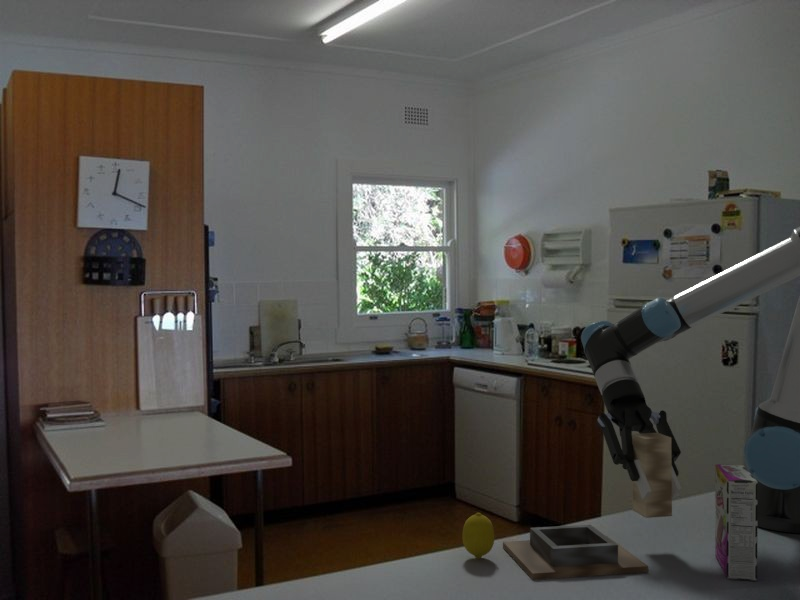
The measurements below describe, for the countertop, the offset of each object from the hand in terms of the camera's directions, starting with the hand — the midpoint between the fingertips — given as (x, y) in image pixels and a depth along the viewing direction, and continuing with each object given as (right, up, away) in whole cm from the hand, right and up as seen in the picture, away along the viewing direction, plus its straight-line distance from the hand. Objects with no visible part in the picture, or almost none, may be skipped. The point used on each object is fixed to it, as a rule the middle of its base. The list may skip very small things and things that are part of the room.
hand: (662, 494), depth 143 cm
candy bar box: (+10, -11, -7) cm, 16 cm away
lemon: (-33, -11, -2) cm, 34 cm away
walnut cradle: (-16, -11, -2) cm, 20 cm away
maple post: (-1, -4, +4) cm, 6 cm away
